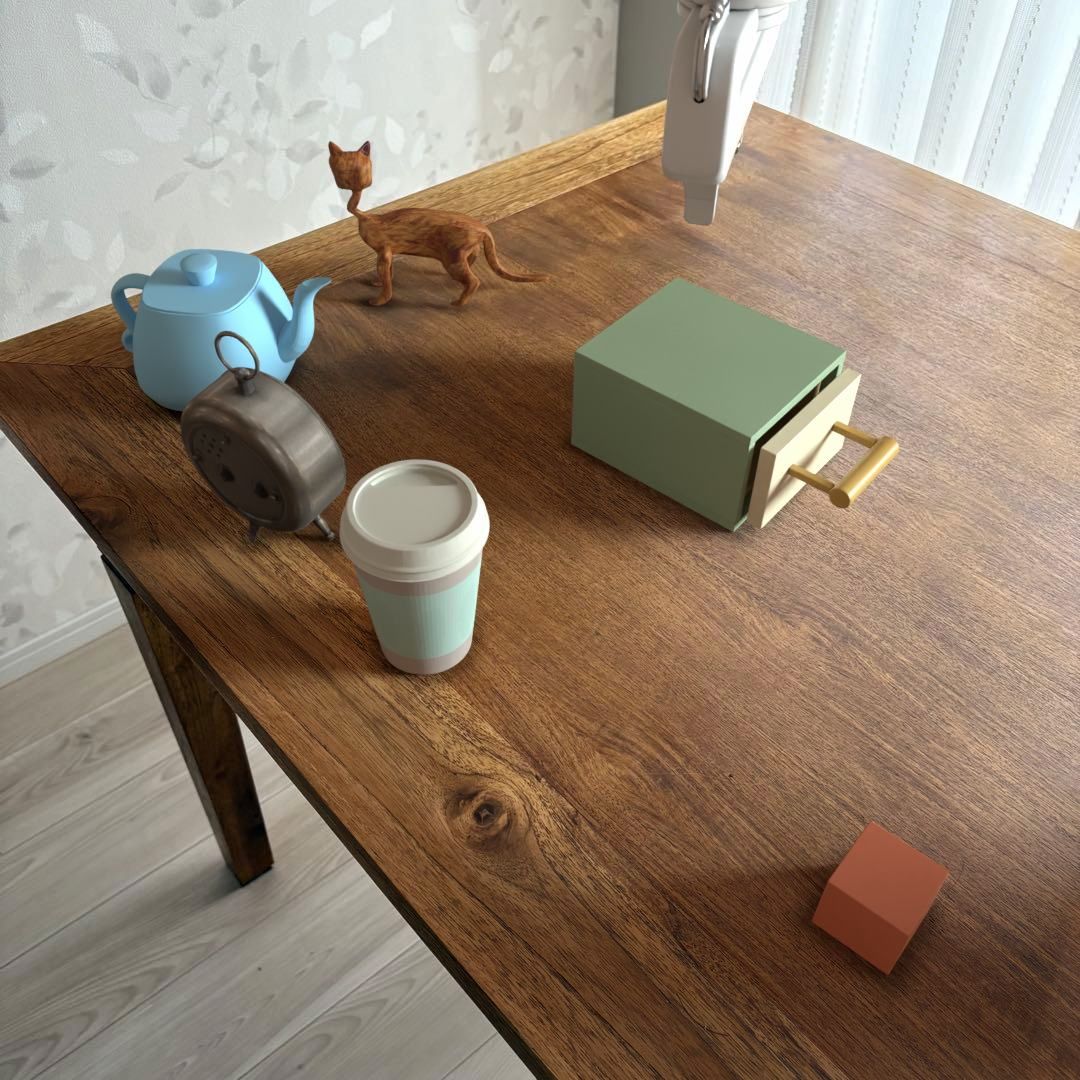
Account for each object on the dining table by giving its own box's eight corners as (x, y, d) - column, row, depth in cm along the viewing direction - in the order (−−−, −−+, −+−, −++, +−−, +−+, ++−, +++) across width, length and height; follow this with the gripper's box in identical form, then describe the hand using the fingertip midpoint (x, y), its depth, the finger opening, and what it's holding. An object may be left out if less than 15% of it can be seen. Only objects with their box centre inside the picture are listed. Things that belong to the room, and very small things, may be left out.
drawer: (900, 475, 81) (924, 401, 76) (821, 562, 74) (842, 488, 70) (692, 375, 89) (701, 303, 84) (605, 446, 83) (610, 372, 78)
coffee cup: (518, 621, 72) (517, 485, 63) (444, 714, 67) (432, 579, 58) (410, 571, 75) (395, 434, 66) (331, 657, 70) (303, 520, 61)
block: (927, 912, 58) (950, 871, 55) (887, 975, 56) (909, 936, 53) (852, 862, 60) (870, 820, 57) (811, 921, 58) (827, 881, 55)
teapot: (305, 321, 77) (58, 297, 78) (325, 439, 84) (99, 416, 86) (353, 228, 85) (130, 209, 87) (367, 343, 93) (162, 323, 95)
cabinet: (823, 443, 84) (847, 350, 78) (733, 532, 78) (751, 438, 72) (667, 367, 91) (677, 276, 85) (570, 444, 84) (574, 350, 78)
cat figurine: (547, 270, 101) (550, 124, 91) (551, 311, 96) (554, 163, 87) (349, 273, 100) (330, 127, 91) (343, 315, 96) (322, 166, 86)
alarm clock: (360, 532, 77) (330, 339, 66) (309, 580, 74) (268, 386, 63) (243, 474, 81) (195, 283, 70) (189, 518, 78) (131, 325, 67)
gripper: (769, 24, 54) (735, 275, 63) (817, -100, 67) (784, 121, 77) (641, 11, 55) (628, 259, 65) (714, -108, 69) (694, 111, 78)
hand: (713, 183), depth 71 cm, fingers open, 8 cm apart
